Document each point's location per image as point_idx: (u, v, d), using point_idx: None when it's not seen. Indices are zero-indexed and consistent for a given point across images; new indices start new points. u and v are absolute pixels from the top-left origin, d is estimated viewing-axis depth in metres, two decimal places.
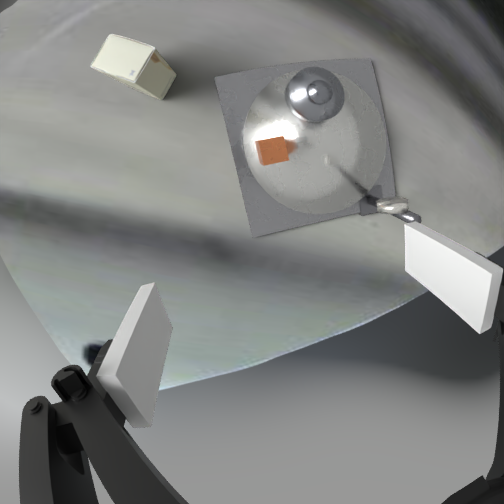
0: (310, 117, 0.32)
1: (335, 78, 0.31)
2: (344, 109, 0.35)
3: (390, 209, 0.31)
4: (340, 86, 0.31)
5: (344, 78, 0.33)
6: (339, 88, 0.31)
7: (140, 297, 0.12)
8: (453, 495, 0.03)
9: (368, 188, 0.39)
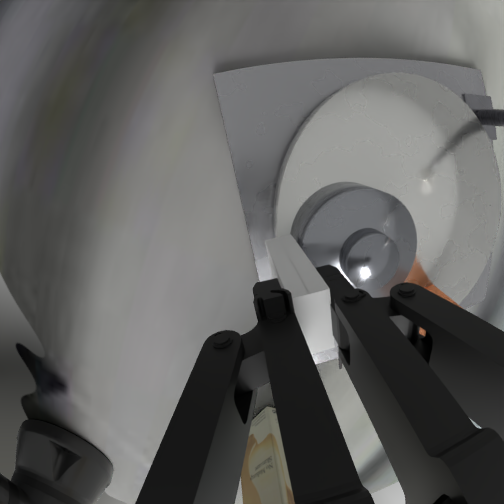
0: (409, 269, 0.16)
1: (330, 211, 0.14)
2: (367, 163, 0.16)
3: None
4: (349, 199, 0.14)
5: (294, 157, 0.16)
6: (354, 201, 0.14)
7: (274, 247, 0.15)
8: (453, 495, 0.03)
9: (482, 131, 0.16)
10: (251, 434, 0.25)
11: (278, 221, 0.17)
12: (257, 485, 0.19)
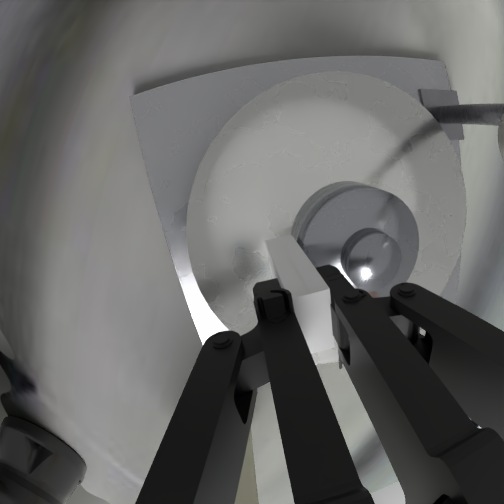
0: (411, 268, 0.15)
1: (330, 211, 0.14)
2: (283, 177, 0.16)
3: None
4: (350, 198, 0.14)
5: (200, 176, 0.16)
6: (355, 201, 0.14)
7: (274, 247, 0.15)
8: (453, 495, 0.03)
9: (439, 131, 0.16)
10: None
11: (188, 242, 0.17)
12: None
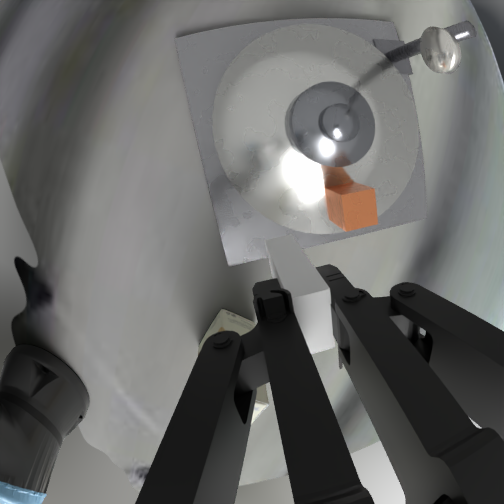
0: (372, 139, 0.21)
1: (308, 92, 0.20)
2: (277, 83, 0.22)
3: (455, 61, 0.14)
4: (320, 86, 0.20)
5: (223, 81, 0.22)
6: (324, 88, 0.20)
7: (274, 247, 0.15)
8: (453, 495, 0.03)
9: (387, 62, 0.22)
10: None
11: (213, 123, 0.23)
12: None
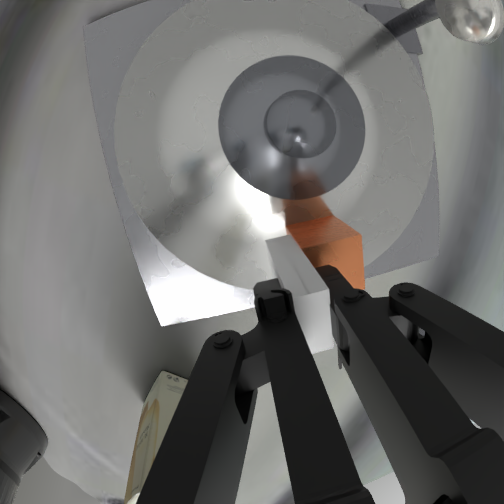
0: (359, 149, 0.13)
1: (246, 76, 0.12)
2: (209, 69, 0.14)
3: (497, 22, 0.06)
4: (268, 64, 0.11)
5: (129, 75, 0.13)
6: (274, 67, 0.11)
7: (274, 247, 0.15)
8: (453, 495, 0.03)
9: (384, 32, 0.13)
10: (147, 401, 0.23)
11: (115, 138, 0.15)
12: (136, 456, 0.17)
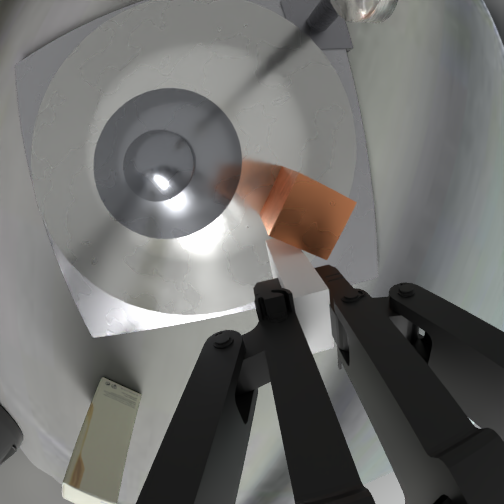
0: (222, 116, 0.12)
1: (99, 179, 0.12)
2: (90, 188, 0.15)
3: None
4: (99, 154, 0.12)
5: (62, 247, 0.16)
6: (104, 150, 0.12)
7: (275, 247, 0.15)
8: (453, 495, 0.03)
9: (145, 7, 0.12)
10: None
11: (101, 288, 0.17)
12: None
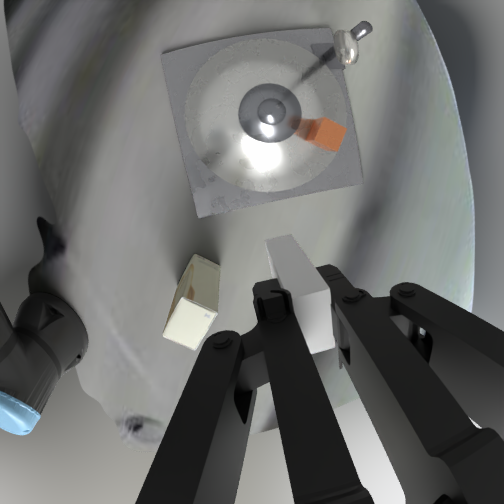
0: (293, 95, 0.29)
1: (241, 117, 0.30)
2: (223, 126, 0.33)
3: (353, 53, 0.23)
4: (242, 106, 0.30)
5: (201, 156, 0.34)
6: (244, 105, 0.30)
7: (274, 247, 0.15)
8: (453, 495, 0.03)
9: (248, 42, 0.29)
10: (183, 275, 0.40)
11: (223, 178, 0.35)
12: (176, 297, 0.34)
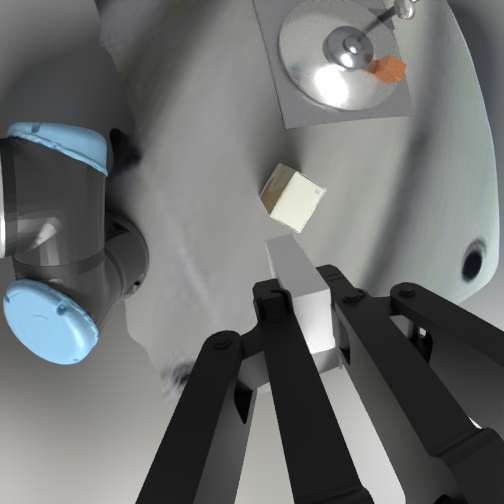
0: (367, 37, 0.32)
1: (331, 45, 0.32)
2: (311, 54, 0.35)
3: (412, 11, 0.25)
4: (331, 38, 0.32)
5: (294, 74, 0.36)
6: (332, 38, 0.32)
7: (274, 247, 0.15)
8: (453, 495, 0.03)
9: None
10: (269, 181, 0.42)
11: (311, 94, 0.37)
12: (276, 186, 0.36)
